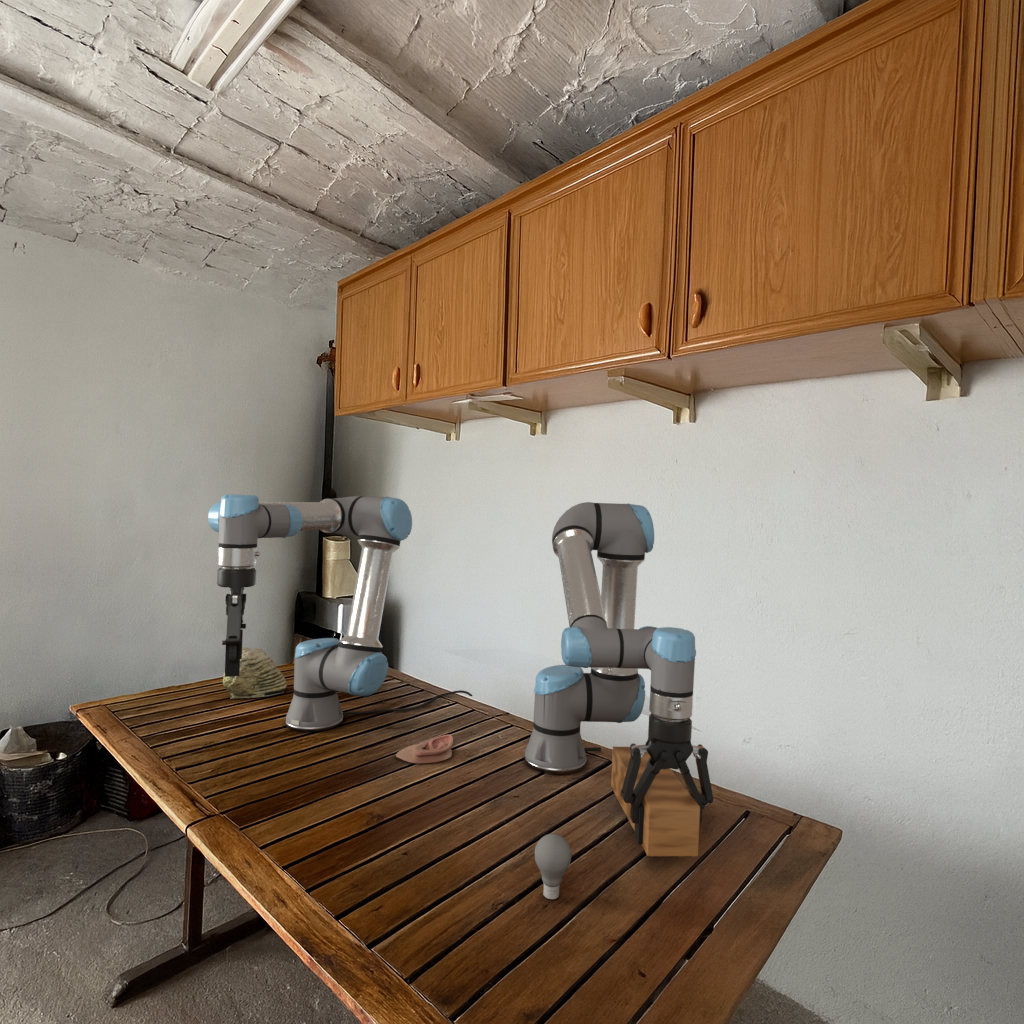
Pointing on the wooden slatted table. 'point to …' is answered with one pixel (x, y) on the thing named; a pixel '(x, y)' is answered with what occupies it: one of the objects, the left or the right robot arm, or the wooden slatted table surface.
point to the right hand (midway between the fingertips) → (664, 840)
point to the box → (660, 809)
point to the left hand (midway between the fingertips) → (233, 667)
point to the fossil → (255, 676)
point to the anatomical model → (428, 750)
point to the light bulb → (552, 862)
